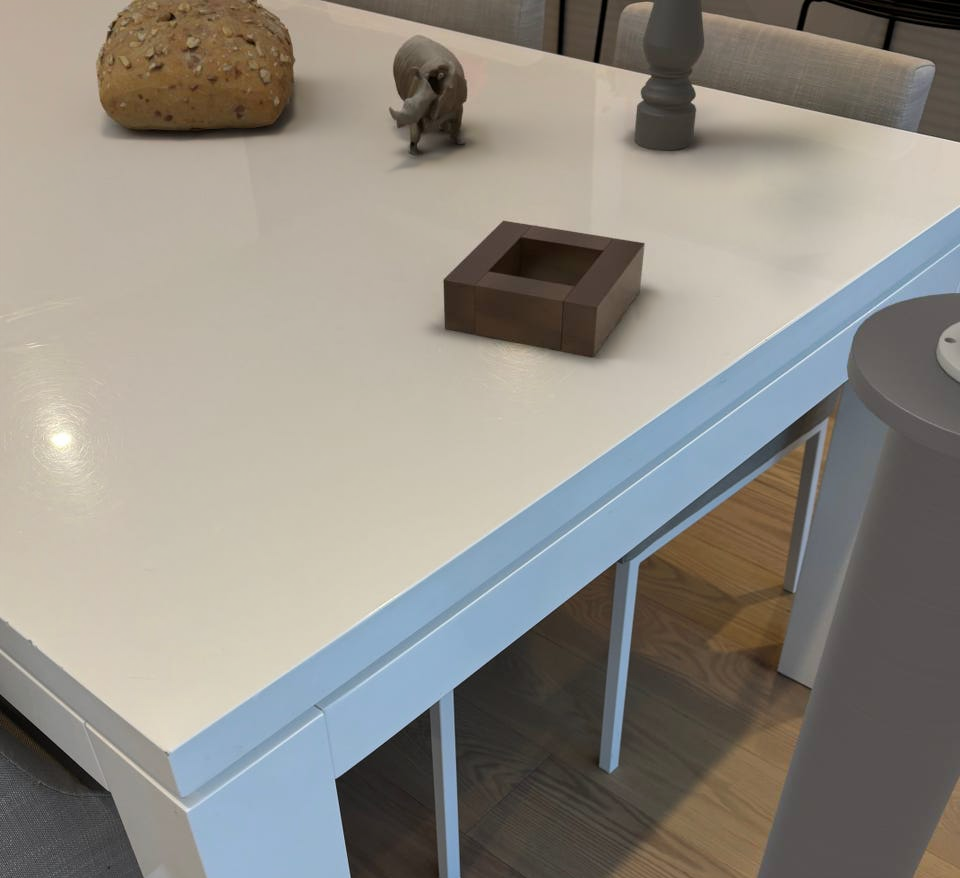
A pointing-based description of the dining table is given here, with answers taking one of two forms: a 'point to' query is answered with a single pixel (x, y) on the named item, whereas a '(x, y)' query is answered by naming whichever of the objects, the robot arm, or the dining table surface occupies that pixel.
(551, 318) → the square frame
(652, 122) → the candle holder
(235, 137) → the dining table surface
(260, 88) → the bread
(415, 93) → the rhinoceros figurine
